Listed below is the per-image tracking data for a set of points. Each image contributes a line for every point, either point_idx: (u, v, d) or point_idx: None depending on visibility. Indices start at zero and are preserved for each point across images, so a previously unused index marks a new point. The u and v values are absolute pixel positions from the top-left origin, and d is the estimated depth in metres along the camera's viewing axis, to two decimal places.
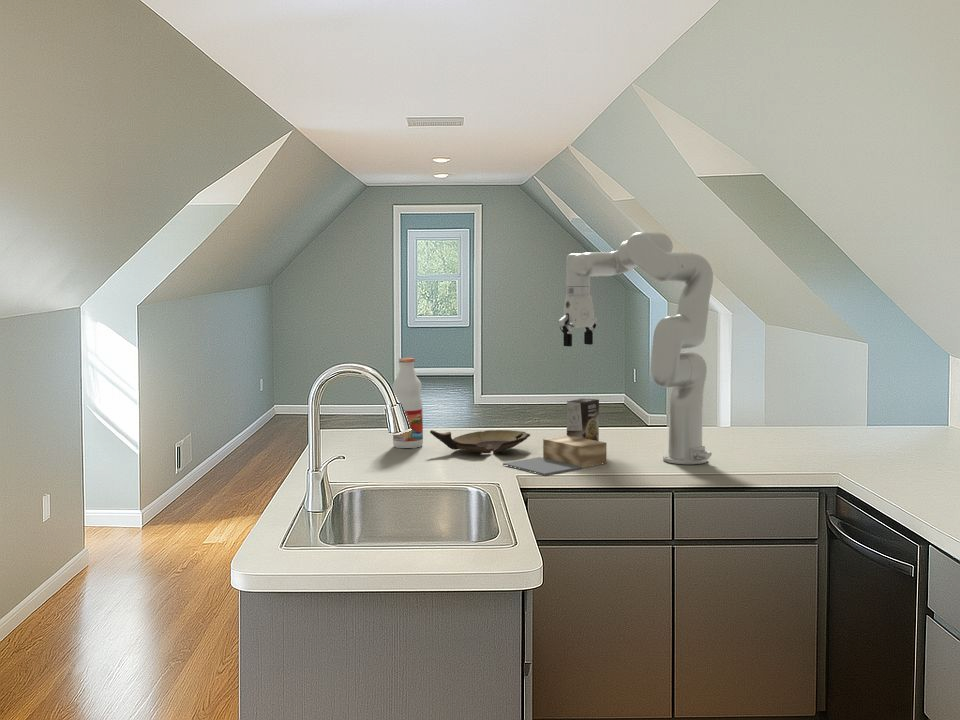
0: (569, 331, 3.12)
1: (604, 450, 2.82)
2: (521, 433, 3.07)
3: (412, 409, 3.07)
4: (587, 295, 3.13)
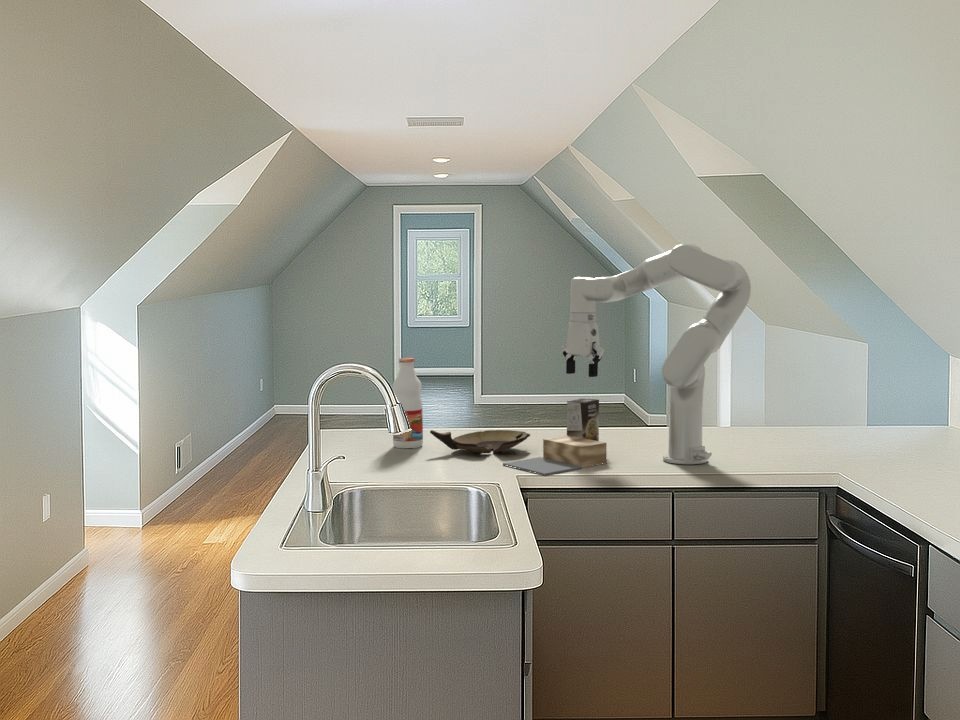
0: None
1: (604, 450, 2.82)
2: (521, 433, 3.07)
3: (412, 409, 3.07)
4: None
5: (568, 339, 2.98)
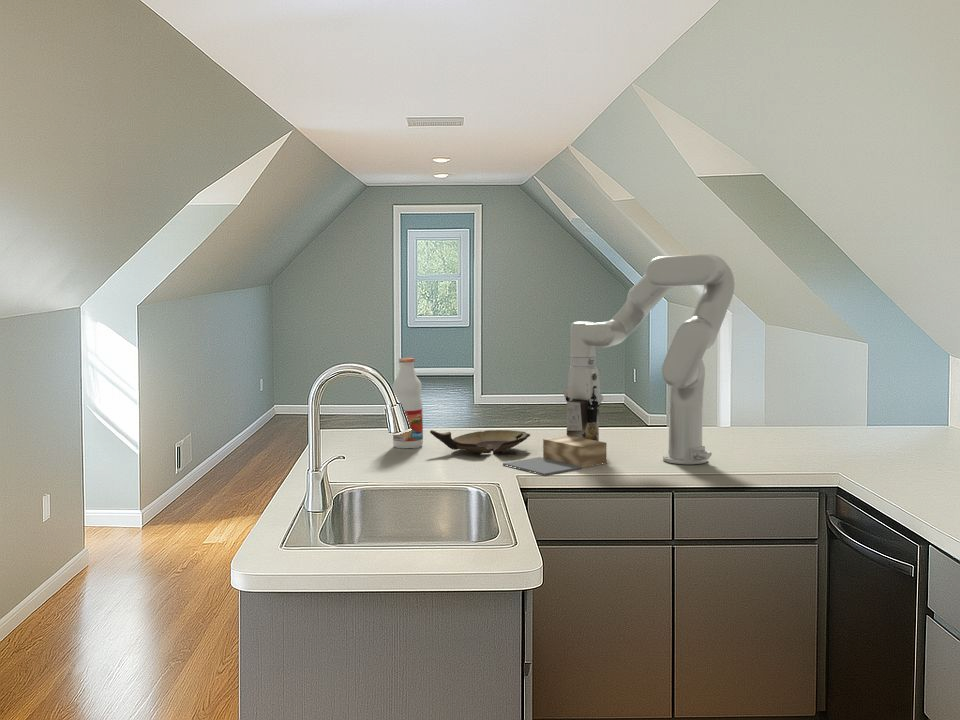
0: None
1: (604, 450, 2.82)
2: (521, 433, 3.07)
3: (412, 409, 3.07)
4: None
5: (569, 383, 2.99)
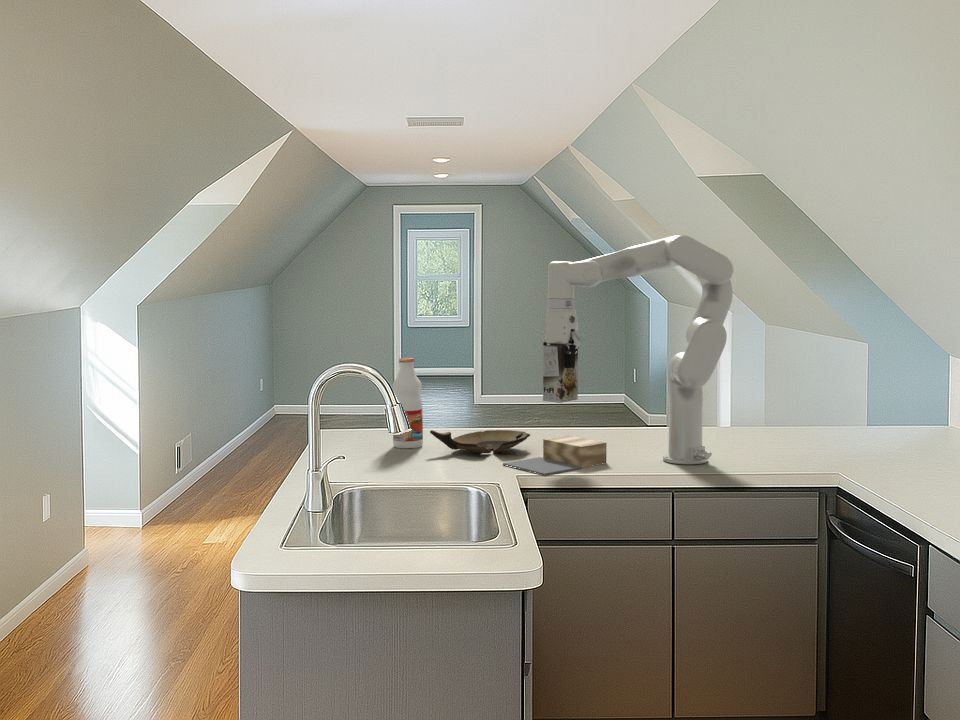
0: None
1: (604, 450, 2.82)
2: (521, 433, 3.07)
3: (412, 409, 3.07)
4: None
5: (546, 327, 2.83)
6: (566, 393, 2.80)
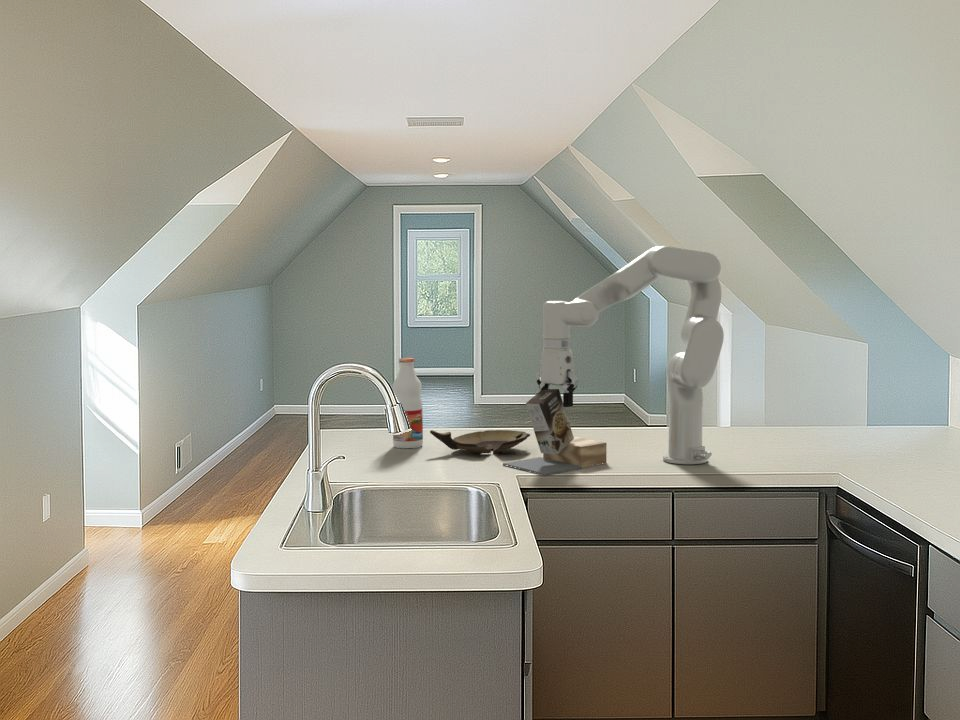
0: None
1: (604, 450, 2.82)
2: (521, 433, 3.07)
3: (412, 409, 3.07)
4: None
5: (542, 367, 2.81)
6: (562, 441, 2.78)
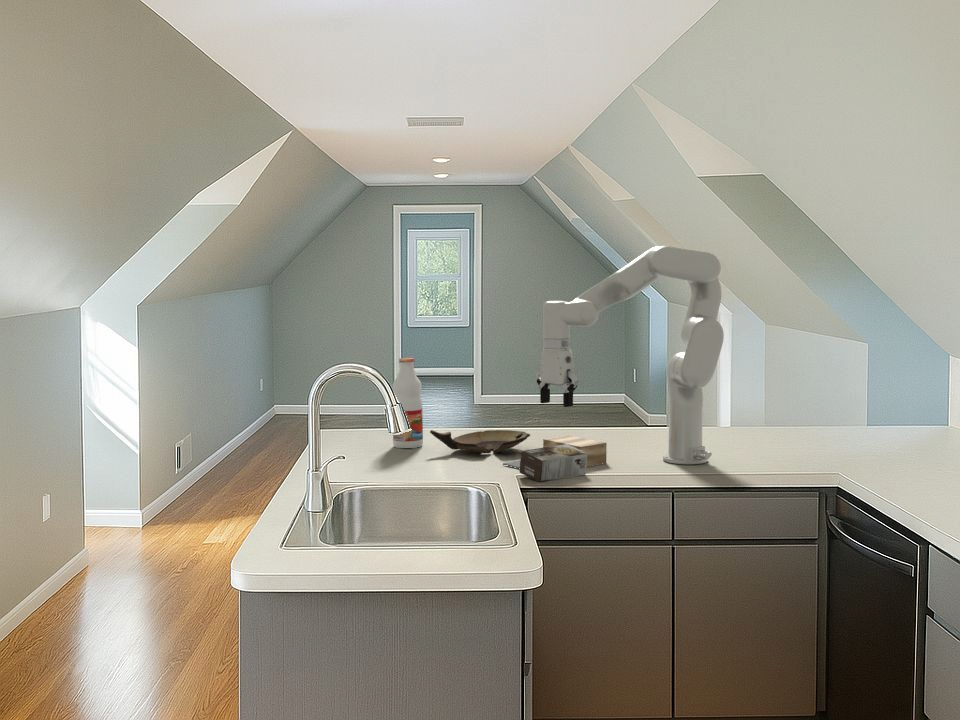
0: None
1: (604, 450, 2.82)
2: (521, 433, 3.07)
3: (412, 409, 3.07)
4: None
5: (541, 367, 2.81)
6: None
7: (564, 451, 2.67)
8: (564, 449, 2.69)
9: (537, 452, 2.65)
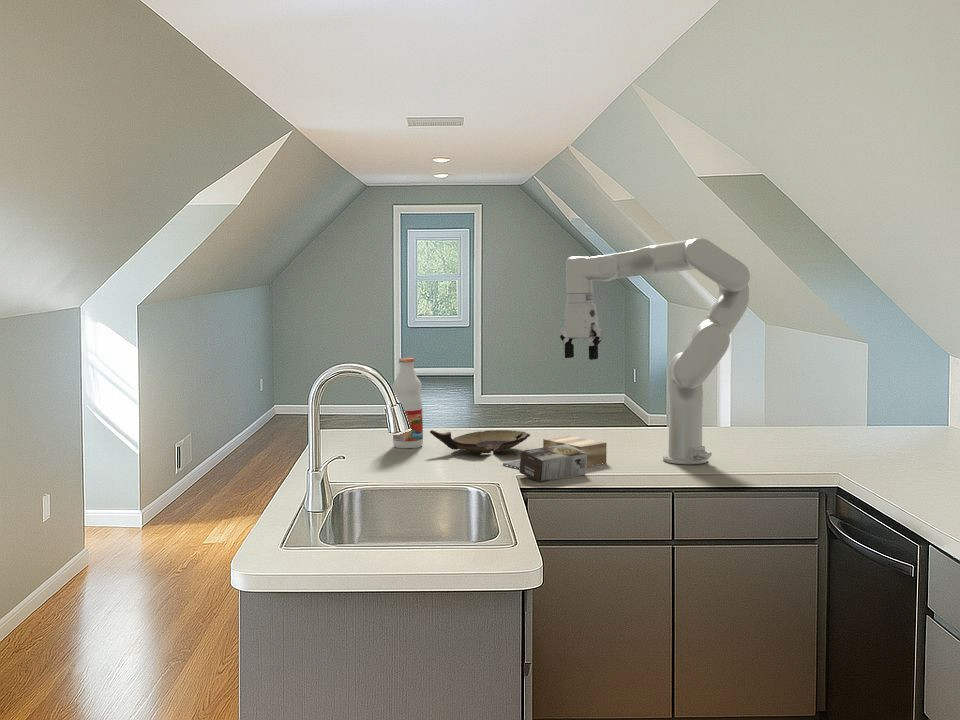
0: None
1: (604, 450, 2.82)
2: (521, 433, 3.07)
3: (412, 409, 3.07)
4: None
5: (565, 322, 2.87)
6: None
7: (564, 451, 2.67)
8: (564, 449, 2.69)
9: (537, 452, 2.65)
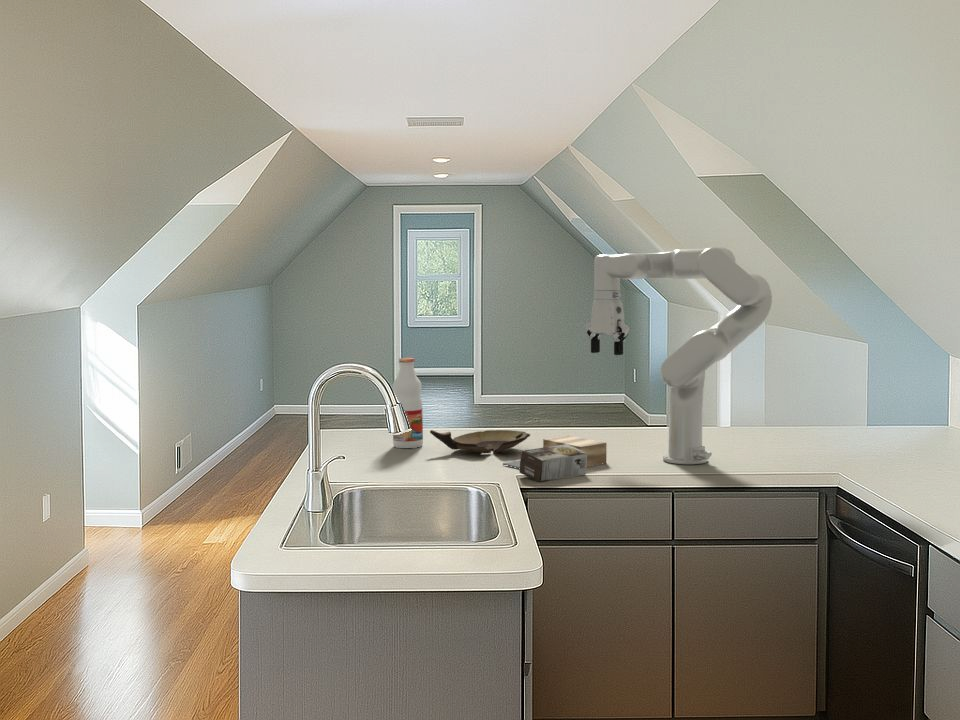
0: None
1: (604, 450, 2.82)
2: (521, 433, 3.07)
3: (412, 409, 3.07)
4: None
5: (592, 318, 2.95)
6: None
7: (564, 451, 2.67)
8: (564, 449, 2.69)
9: (537, 452, 2.65)
